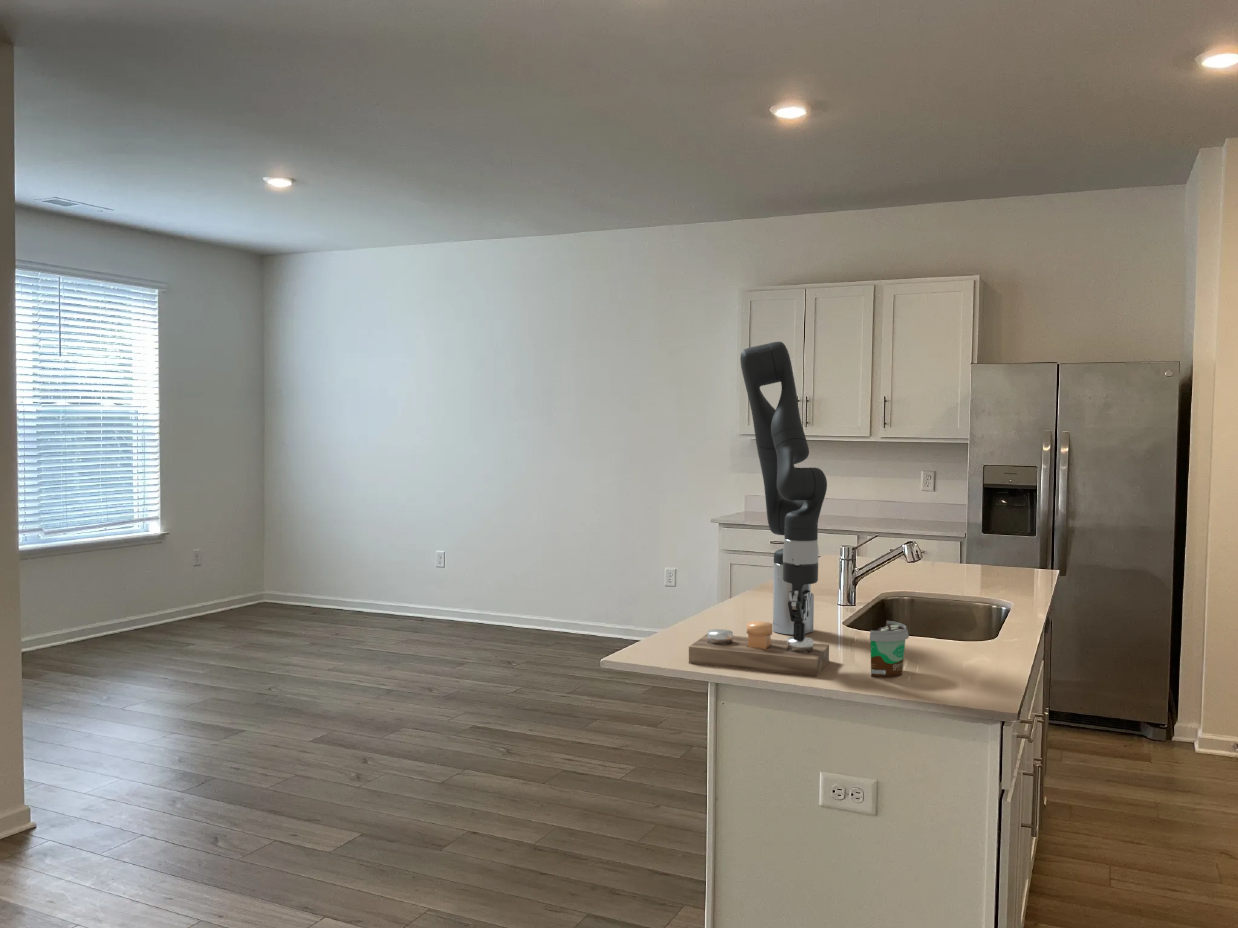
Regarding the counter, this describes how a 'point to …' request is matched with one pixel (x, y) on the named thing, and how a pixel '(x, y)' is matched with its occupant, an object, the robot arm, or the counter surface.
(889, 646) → the food container
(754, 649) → the knob mount
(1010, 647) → the counter surface
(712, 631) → the knob
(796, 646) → the knob
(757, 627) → the knob mid
